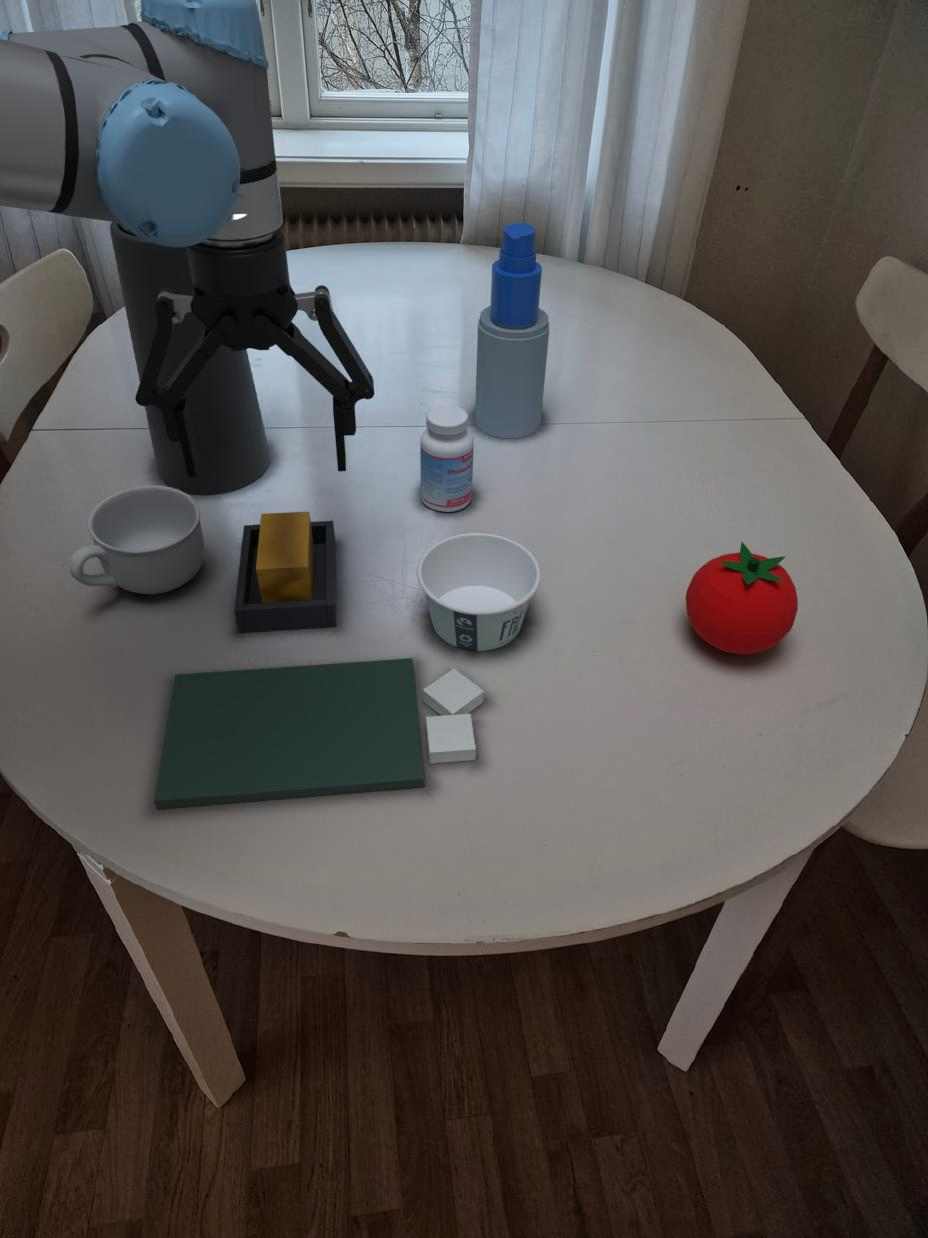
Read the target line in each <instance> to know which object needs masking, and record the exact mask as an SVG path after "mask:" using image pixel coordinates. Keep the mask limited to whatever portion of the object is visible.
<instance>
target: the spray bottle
mask: <svg viewBox="0 0 928 1238" xmlns="http://www.w3.org/2000/svg"><path fill="white" fill-rule="evenodd" d="M535 241H536V228H535V227H534V226H533V225H531V224H530V223H526V222H525V223H524V222H515V223H511V224H507V225H505V226H503V228H502V245H501V246H502V247H500V248H499V250H498V251H499V253H498V259H497V260H495V261H494V262H493V263H492V265H491V280H490V281H491V283H490V305H489V306H487V307H485V308H483V309H482V311H481V312H480V313H479V319H478V322H477V342H476V343H477V344H476V345H477V346H476V347H477V348H476V372H475V373H476V374H475V375H476V377H475V405H474V407H475V408H474V424H475V425H476V428H478V429H479V430H480V431H481V432H483V433H484V434H486V435H489V436H491V437H495V438H500V439H511V440H512V439H520V438H525V437H527V436H530V435H533V434H534V433H535V432H537V431H538V430H539V428H540V427H541V424H542V423H541V422H542V415H543V414H542V412H543V403H544V402H543V401H544V390H545V380H546V371H547V359H548V348H549V338H550V322H549V315H548V314H547V313H546V311H545V310H543V309H542V308H540V298H541V285H542V274H543V273H542V272H543V266H542V265H541V263H540V262H538V261H537V250H536V249H535V245H536V242H535Z"/></svg>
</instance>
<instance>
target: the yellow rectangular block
mask: <svg viewBox="0 0 928 1238" xmlns="http://www.w3.org/2000/svg"><path fill="white" fill-rule="evenodd" d="M311 522H312V520H311V512H310V511H288V512H272V513H271V512H270V513H261V515H260V522H259V523H260V524H259V525H260V532H259V542H258V552H257V562H256V573H257V578H258V583H259V588H260V594H261V599H262V603H277V602H293V601H310V600H314V557H315V551H314V543H313V535H312V527H311Z"/></svg>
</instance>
